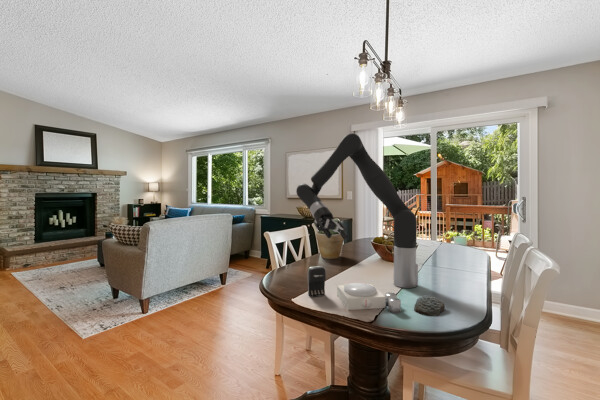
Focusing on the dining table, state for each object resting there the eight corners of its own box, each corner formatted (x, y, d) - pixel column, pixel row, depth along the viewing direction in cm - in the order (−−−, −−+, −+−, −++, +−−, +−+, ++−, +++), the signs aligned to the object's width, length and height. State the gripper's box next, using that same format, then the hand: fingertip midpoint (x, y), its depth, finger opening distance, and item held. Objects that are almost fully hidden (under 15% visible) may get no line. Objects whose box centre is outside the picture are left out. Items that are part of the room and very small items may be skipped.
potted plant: (344, 253, 187) (344, 216, 186) (345, 260, 168) (346, 219, 167) (316, 253, 188) (316, 216, 188) (315, 260, 170) (315, 218, 169)
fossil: (448, 308, 102) (448, 297, 102) (434, 319, 93) (435, 307, 93) (420, 300, 109) (420, 290, 109) (405, 310, 100) (405, 299, 100)
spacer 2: (397, 308, 101) (397, 297, 101) (402, 313, 97) (402, 301, 97) (386, 309, 100) (386, 297, 100) (391, 313, 96) (391, 302, 96)
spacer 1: (393, 302, 106) (393, 292, 106) (398, 307, 102) (398, 296, 102) (383, 303, 105) (383, 292, 105) (387, 307, 101) (388, 296, 101)
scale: (370, 293, 115) (370, 281, 115) (386, 308, 101) (386, 294, 100) (337, 295, 113) (337, 283, 113) (348, 310, 99) (348, 296, 99)
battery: (309, 298, 110) (309, 269, 110) (307, 294, 114) (307, 266, 114) (326, 296, 112) (326, 268, 112) (323, 293, 116) (323, 265, 115)
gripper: (311, 204, 121) (329, 228, 109) (336, 208, 129) (355, 231, 117) (304, 218, 124) (320, 243, 112) (329, 221, 132) (346, 245, 120)
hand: (338, 237), depth 115 cm, fingers open, 8 cm apart
